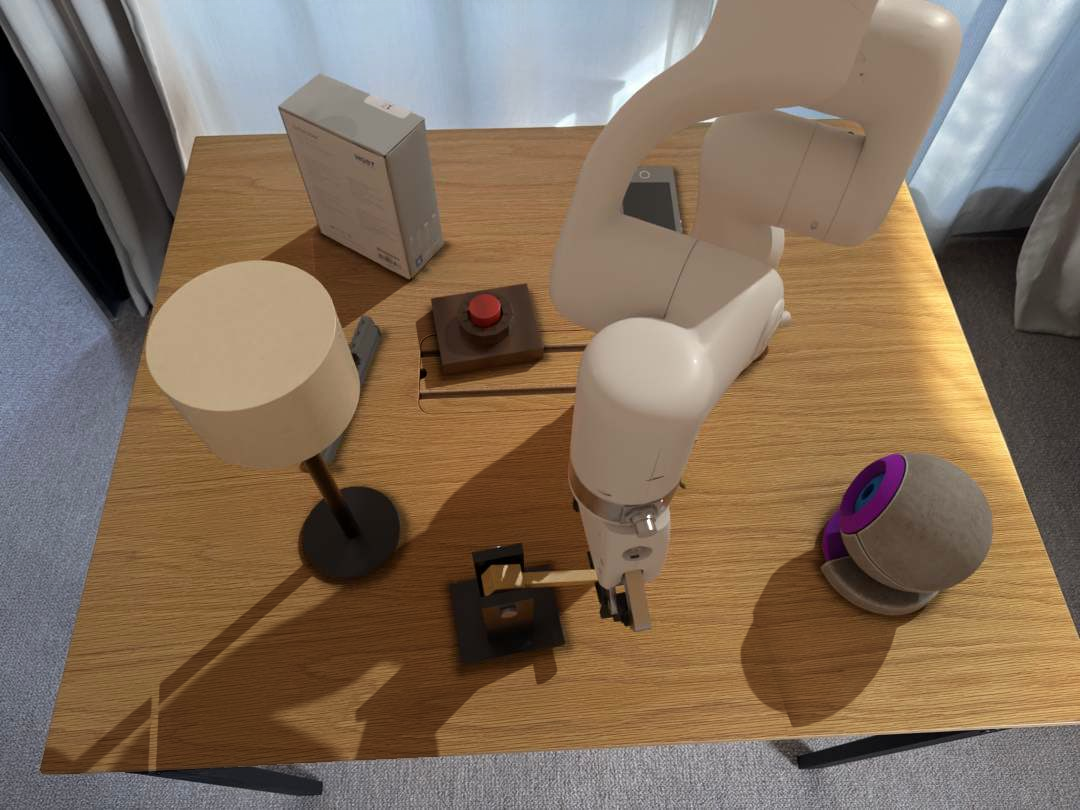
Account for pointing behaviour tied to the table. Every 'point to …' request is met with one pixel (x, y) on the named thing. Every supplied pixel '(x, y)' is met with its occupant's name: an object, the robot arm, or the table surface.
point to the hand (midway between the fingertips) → (603, 557)
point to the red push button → (484, 310)
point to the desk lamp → (273, 394)
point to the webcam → (906, 533)
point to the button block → (487, 331)
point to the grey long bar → (358, 364)
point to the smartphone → (653, 198)
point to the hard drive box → (366, 172)
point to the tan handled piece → (537, 579)
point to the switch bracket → (503, 612)
